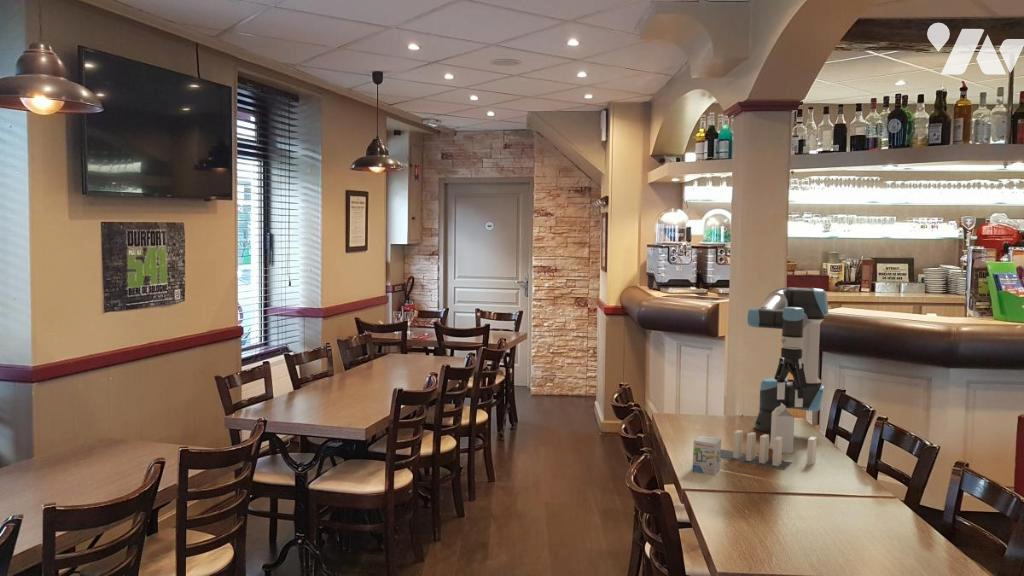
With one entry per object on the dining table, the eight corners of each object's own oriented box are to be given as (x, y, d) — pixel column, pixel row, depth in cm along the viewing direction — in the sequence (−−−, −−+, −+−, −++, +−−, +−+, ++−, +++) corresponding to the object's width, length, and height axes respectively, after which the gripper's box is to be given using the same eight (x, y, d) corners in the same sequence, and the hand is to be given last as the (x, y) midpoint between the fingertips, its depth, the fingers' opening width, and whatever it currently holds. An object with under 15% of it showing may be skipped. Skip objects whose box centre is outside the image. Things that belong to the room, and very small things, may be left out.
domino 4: (776, 462, 277) (777, 436, 276) (781, 463, 276) (782, 437, 275) (772, 465, 273) (773, 439, 272) (777, 466, 272) (778, 439, 271)
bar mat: (720, 450, 293) (720, 449, 293) (792, 463, 277) (792, 462, 277) (709, 456, 283) (709, 455, 283) (783, 471, 267) (783, 470, 267)
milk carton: (787, 448, 297) (790, 403, 296) (792, 453, 290) (795, 406, 289) (770, 448, 298) (772, 402, 296) (774, 452, 291) (776, 406, 289)
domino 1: (737, 454, 286) (738, 429, 285) (742, 455, 284) (743, 430, 284) (732, 457, 282) (733, 432, 281) (738, 458, 280) (739, 433, 280)
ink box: (691, 471, 265) (692, 440, 264) (697, 465, 272) (698, 434, 272) (715, 475, 261) (716, 443, 260) (720, 469, 268) (721, 438, 268)
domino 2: (749, 457, 283) (750, 431, 282) (755, 458, 282) (756, 432, 281) (745, 460, 279) (746, 434, 278) (751, 461, 278) (752, 435, 277)
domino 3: (762, 459, 280) (763, 434, 279) (768, 460, 279) (769, 434, 278) (758, 462, 276) (759, 436, 275) (764, 463, 275) (765, 437, 274)
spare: (809, 461, 279) (811, 436, 279) (815, 462, 278) (816, 437, 278) (806, 465, 275) (807, 439, 275) (812, 466, 274) (813, 440, 273)
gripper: (767, 343, 288) (764, 396, 289) (799, 352, 263) (796, 410, 264) (784, 343, 289) (782, 396, 290) (818, 352, 264) (816, 410, 265)
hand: (789, 403), depth 277 cm, fingers open, 13 cm apart
